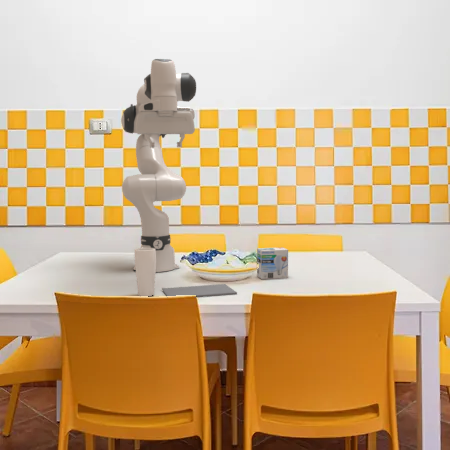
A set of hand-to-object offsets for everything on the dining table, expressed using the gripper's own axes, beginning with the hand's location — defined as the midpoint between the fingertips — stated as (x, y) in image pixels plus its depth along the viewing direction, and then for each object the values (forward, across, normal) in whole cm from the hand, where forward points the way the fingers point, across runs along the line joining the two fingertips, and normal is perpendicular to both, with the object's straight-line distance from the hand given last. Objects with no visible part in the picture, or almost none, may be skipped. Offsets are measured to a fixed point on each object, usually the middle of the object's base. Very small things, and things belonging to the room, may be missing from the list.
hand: (165, 147), depth 180 cm
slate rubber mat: (+48, -7, +16) cm, 51 cm away
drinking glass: (+48, +10, +16) cm, 51 cm away
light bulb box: (+49, -38, 0) cm, 62 cm away
